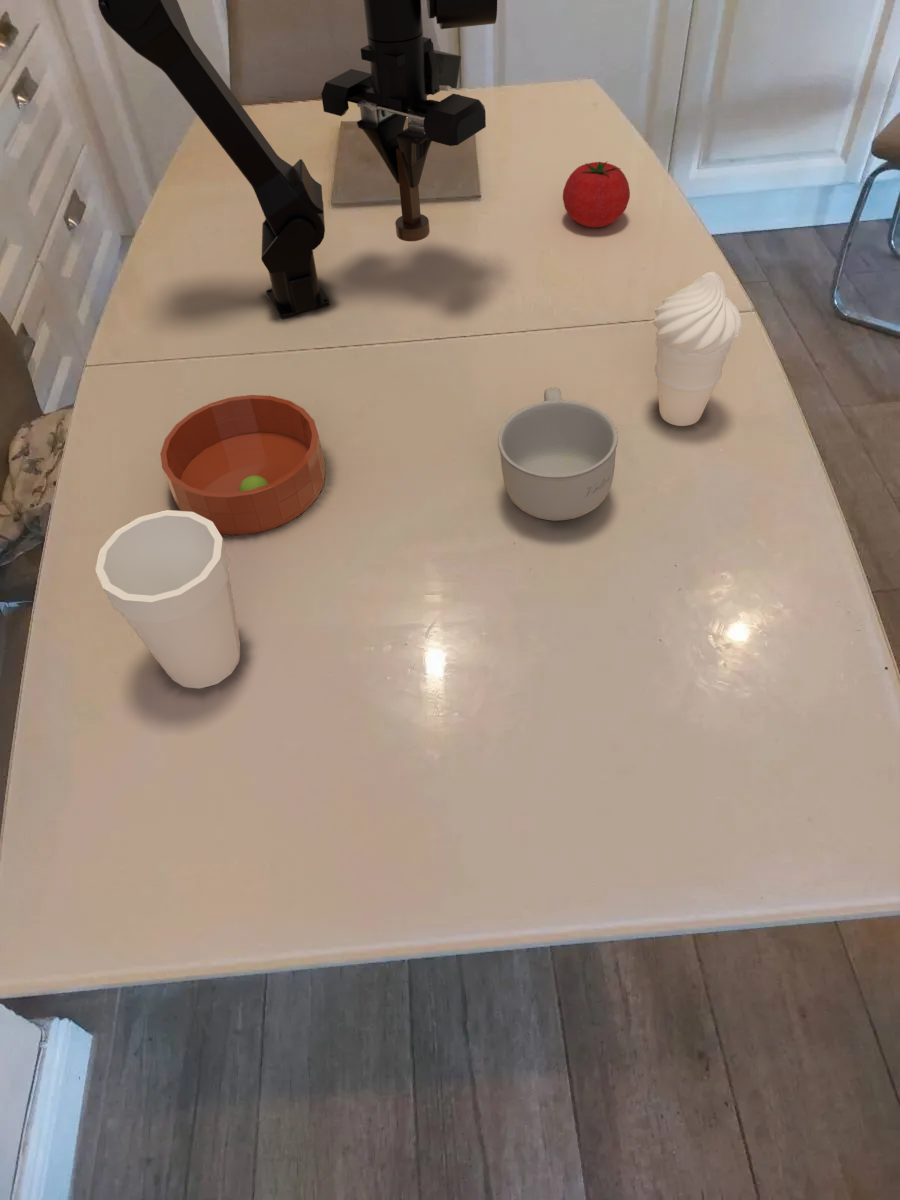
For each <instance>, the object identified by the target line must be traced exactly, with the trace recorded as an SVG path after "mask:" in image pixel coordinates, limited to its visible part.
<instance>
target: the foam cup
mask: <svg viewBox="0 0 900 1200" xmlns="http://www.w3.org/2000/svg"><path fill="white" fill-rule="evenodd" d="M230 560H231V559H230V556H229V553H228V550H227V547H226V545H225V541H224V538H223V536H222V534H221V533H219V531H218V530H217V528H216V527H215V525H214V523H213V522H212V521H210V520H208V519H206V518H204V517H202V516H200V515H198V514H196V513H194V512H188V511H180V510H170V509H166V510H162V511H158V512H154V513H149V514H145V515H141V516H138V517H136V518H135V519H133V520H132V521H130V522H128V523H127V524H124V525H123V526H122V527H120V528H118V529H116V530H115V531H114V532H113V533H112V535H111V536H110V537H109V538H108V539H107V541H106V542H105V543H104V544H103V545H102V547H101V548H100V549H99V552H98V557H97V560H96V564H95V569H94V571H95V574H96V575H97V578H98V580H99V582H100V585H101V587H102V588H103V591H104V592H105V595H106V596H107V599H108V600H109V602H110V604H111V606H112V608H113V610H115V611H117V612H118V613H120V615H121V616H122V617H123V618H124V619H125V621H126V622H127V623H128V625H129V626H130V627H131V629H132V630H133V631H134V633H135V634H136V635H137V637H138V638H139V639H140V641H141V642H142V643H143V644H144V645H145V647H146V648H147V650H148V651H149V652H150V653H151V655H152V656H153V658H155V660H156V661H157V662H158V664H159V665H160V666H161V668H162V669H163V670H164V672H165V673H166V674H167V675H168V677H170V678H171V680H172V681H173V682H175V683H176V684H178V685H180V686H181V687H184V688H189V689H205V688H207V687H211V686H214V685H217V684H219V683H221V682H222V681H223V680H225V679H226V678H228V677H229V676H230V675H232V674H233V672H234V670H235V669H236V667H237V666H238V665H239V663H240V658H241V641H240V634H239V628H238V621H237V616H236V615H237V614H236V609H235V602H234V601H235V600H234V595H233V589H232V583H231V582H232V581H231V574H230Z"/></svg>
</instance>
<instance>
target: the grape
mask: <svg viewBox="0 0 900 1200" xmlns="http://www.w3.org/2000/svg"><path fill="white" fill-rule="evenodd" d="M267 484H269V483H268V482H267V481H266V480H265V479H264V478H262V477H260V476H255V475H254V476H249V477H247V478H245V479H244V480H243V481H242V483H241V485H240V488H239V492H240V491H247V490H252V489H255V488H258V487H261V486H264V485H267Z"/></svg>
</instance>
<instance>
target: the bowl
mask: <svg viewBox="0 0 900 1200" xmlns="http://www.w3.org/2000/svg"><path fill="white" fill-rule="evenodd" d="M322 451H323V450H322V446H321V439H320V436H319V431H318V428H317V425H316V422H315V419H314V418H313V417H312V416H311V415H310V414H309V412H307V411H306V409H304V408H303V407H301V406H300V405H298V404H296V403H294V402H293V401H291V400H288V399H284V398H281V397H276V396H273V395H263V394H262V395H261V394H246V395H239V396H232V397H231V396H230V397H226V398H223V399H220V400H216V401H214V402H213V401H212V402H210V403H207V404H205V405H204V406H202V407H200V408H197V409H195V410H194V411H192V412H190V413H189V414H187V415H186V416H184V417H183V418H182V419H181V420H180V421H178V422H177V423H176V424H174V426H173V427H172V429H171V430H170V432H169V433H168V434H167V436H166V437H165V438H164V441H163V443H162V447H161V450H160V453H159V455H160V464H161V469H162V471H163V473H164V475H165V480H166V482H167V485H168V487H169V489H170V492H171V494H172V497H173V500H174V502H175V504H176V506H177V508H178V509H179V510H178V511H188V512H194V513H196V514H198V515H200V516H202V517H204V518H206V519H208V520H210V521H212V522H213V523H214V525H215V527H216V528H217V530H218V531H219V533H220V535H231V536H233V535H236V536H237V535H250V534H251V535H252V534H256V533H262V532H265V531H269V530H272V529H275V528H277V527H280V526H283V525H285V524H287V523H288V522H291V521H292V520H294V519H296V518H297V517H299V516H300V515H301V514H303V513H304V512H305V511H306V510H307V509H309V508H310V507H311V505H312V504H314V502H315V501H316V499H317V498H318V497H319V495H320V493H321V491H322V489H323V486H324V483H325V478H326V464H325V461H324V456H323V452H322ZM254 475H255V476H260V477H262V478H264V479H265V480H266V481H267V482H268V483H269V484H267V485H264V486H261V487H258V488H255V489H252V490H247V491H240V492H239V488H240V485H241V483H242V481H243V480H244V479H245V478H247V477H249V476H254Z"/></svg>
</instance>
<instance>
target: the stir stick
mask: <svg viewBox="0 0 900 1200" xmlns="http://www.w3.org/2000/svg"><path fill="white" fill-rule="evenodd" d="M396 157H397V168H398V178H399V184H398V187H399V197H400V207H401V216H399V217H398V218H397V219H395V222H394V224H395V234H396V237H397V238H398V239H399V240H401V241H403V242H418V241H421V240H424V239H426V238H427V237H428V236H429V235H430V220H429V218H428V216H426V215H424V214H422V213H421V203H420V202H421V201H420V190H419V189H420V188H419V185H418V186H417V187H415V188H411V187H410V184H409V181H408V179H407V175H406V171H405V167H404V163H403V159H402V155H401V151H400V147H399V148H397V149H396Z"/></svg>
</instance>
